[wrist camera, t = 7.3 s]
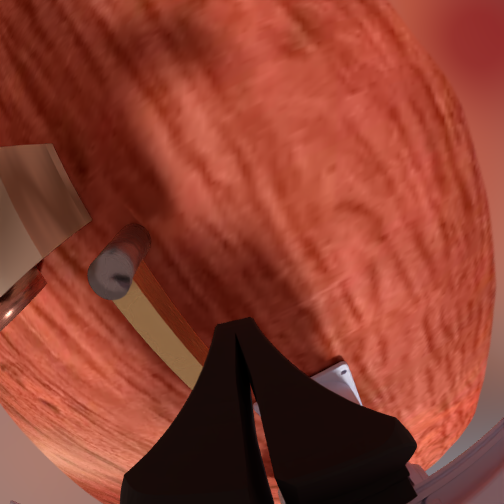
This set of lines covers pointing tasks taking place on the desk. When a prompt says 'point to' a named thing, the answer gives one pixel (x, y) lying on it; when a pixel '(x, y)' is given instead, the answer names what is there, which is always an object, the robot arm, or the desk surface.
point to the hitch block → (34, 208)
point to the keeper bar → (147, 303)
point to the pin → (20, 295)
